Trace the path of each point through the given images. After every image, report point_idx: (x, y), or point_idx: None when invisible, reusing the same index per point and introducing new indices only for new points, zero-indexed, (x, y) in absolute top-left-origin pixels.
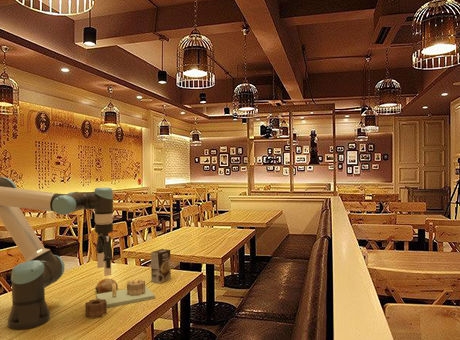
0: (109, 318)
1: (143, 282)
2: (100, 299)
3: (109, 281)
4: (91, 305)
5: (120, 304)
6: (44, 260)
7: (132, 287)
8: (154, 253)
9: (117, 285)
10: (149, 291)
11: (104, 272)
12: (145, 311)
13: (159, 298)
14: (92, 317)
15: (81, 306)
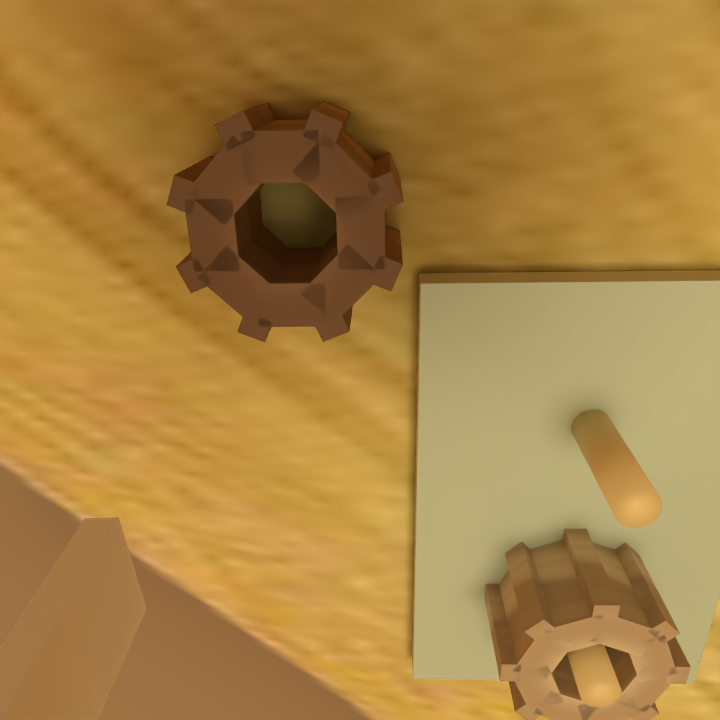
0: (148, 298)
1: (557, 717)
2: (360, 293)
3: None
4: (204, 173)
5: (416, 433)
6: None
7: (523, 615)
8: None
9: None
10: None
11: (69, 566)
12: (184, 551)
13: (398, 677)
14: (207, 159)
15: (615, 85)
